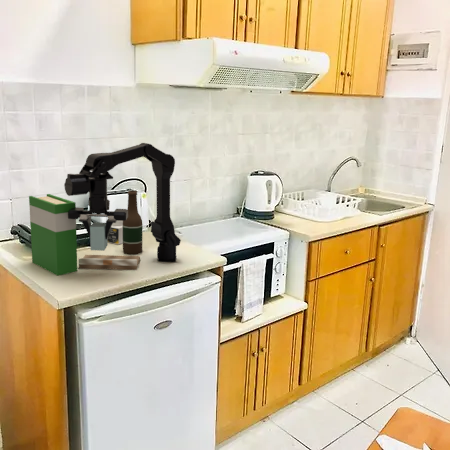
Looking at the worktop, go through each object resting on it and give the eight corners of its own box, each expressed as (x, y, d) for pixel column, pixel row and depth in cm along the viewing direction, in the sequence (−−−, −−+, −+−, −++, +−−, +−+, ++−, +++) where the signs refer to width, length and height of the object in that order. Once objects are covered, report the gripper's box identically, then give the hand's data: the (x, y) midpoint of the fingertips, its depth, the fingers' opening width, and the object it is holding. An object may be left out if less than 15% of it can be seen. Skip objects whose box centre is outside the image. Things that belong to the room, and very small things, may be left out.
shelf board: (140, 260, 189) (140, 251, 188) (136, 270, 178) (136, 260, 177) (85, 258, 187) (85, 249, 187) (78, 268, 176) (78, 259, 176)
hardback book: (32, 262, 181) (28, 196, 175) (51, 258, 186) (49, 193, 180) (57, 275, 169) (54, 205, 163) (77, 270, 174) (75, 202, 169)
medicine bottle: (104, 242, 209) (104, 213, 206) (116, 238, 215) (115, 210, 212) (118, 245, 206) (118, 216, 203) (129, 241, 212) (129, 213, 209)
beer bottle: (144, 249, 201) (145, 190, 195) (139, 255, 194) (139, 193, 188) (125, 248, 202) (125, 188, 196) (119, 254, 194) (119, 192, 188)
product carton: (107, 245, 174) (107, 222, 172) (104, 250, 168) (104, 227, 166) (93, 245, 173) (93, 222, 171) (90, 250, 168) (89, 226, 166)
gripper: (130, 189, 174) (130, 233, 178) (74, 187, 173) (76, 231, 177) (125, 195, 164) (125, 242, 168) (66, 193, 163) (68, 240, 166)
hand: (98, 239), depth 170 cm, fingers closed on product carton, 5 cm apart
